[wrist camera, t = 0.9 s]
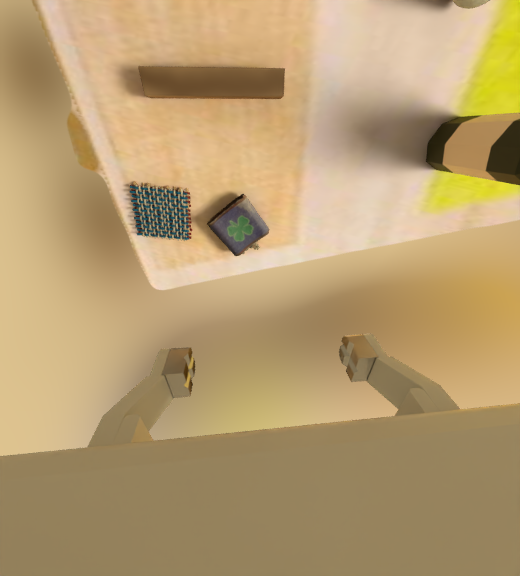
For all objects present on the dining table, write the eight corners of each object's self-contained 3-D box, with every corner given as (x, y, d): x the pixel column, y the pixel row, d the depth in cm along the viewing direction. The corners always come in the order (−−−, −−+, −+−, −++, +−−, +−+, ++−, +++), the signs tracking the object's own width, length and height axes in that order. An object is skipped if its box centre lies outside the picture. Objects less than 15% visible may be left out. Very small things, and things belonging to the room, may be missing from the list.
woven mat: (193, 239, 48) (191, 243, 47) (140, 234, 47) (136, 238, 45) (191, 187, 42) (189, 189, 41) (131, 179, 41) (127, 181, 39)
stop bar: (145, 71, 33) (138, 66, 30) (281, 73, 34) (284, 68, 32) (151, 98, 34) (144, 95, 32) (280, 98, 36) (283, 96, 33)
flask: (245, 195, 41) (275, 238, 47) (243, 191, 43) (272, 233, 49) (206, 226, 42) (240, 264, 48) (206, 221, 45) (239, 258, 51)
